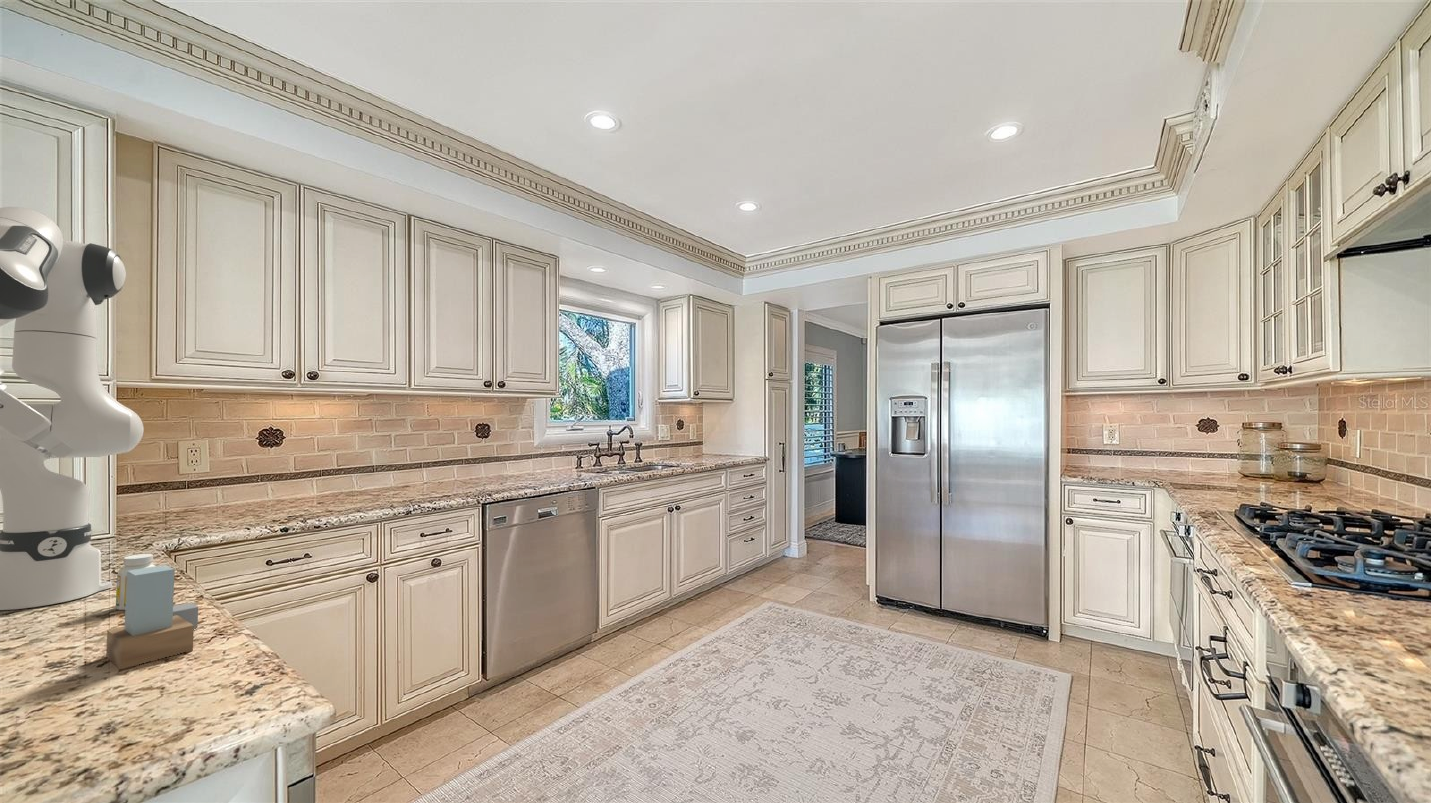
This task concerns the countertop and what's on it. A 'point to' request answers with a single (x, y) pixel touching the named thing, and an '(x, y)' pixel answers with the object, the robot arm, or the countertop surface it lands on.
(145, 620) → the pillar
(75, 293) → the robot arm
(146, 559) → the supplement bottle
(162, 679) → the countertop surface
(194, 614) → the block
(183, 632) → the plinth
